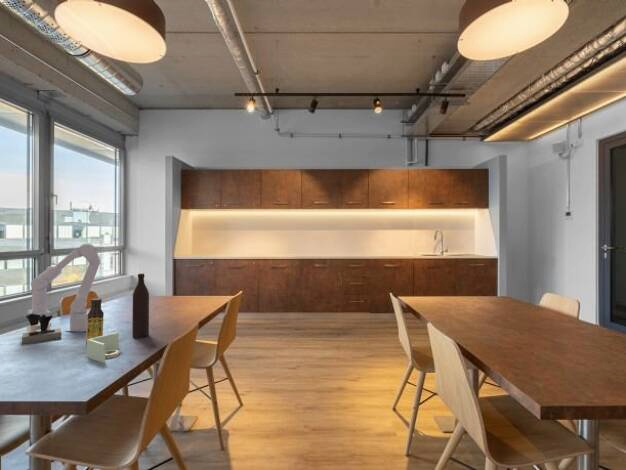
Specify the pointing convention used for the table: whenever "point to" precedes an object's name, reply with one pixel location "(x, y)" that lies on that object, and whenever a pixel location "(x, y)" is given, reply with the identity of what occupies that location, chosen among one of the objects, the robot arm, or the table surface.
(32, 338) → the grey slotted block
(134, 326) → the wine bottle
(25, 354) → the table surface
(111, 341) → the l-shaped corner panel
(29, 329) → the clip
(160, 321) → the table surface
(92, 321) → the sauce bottle
